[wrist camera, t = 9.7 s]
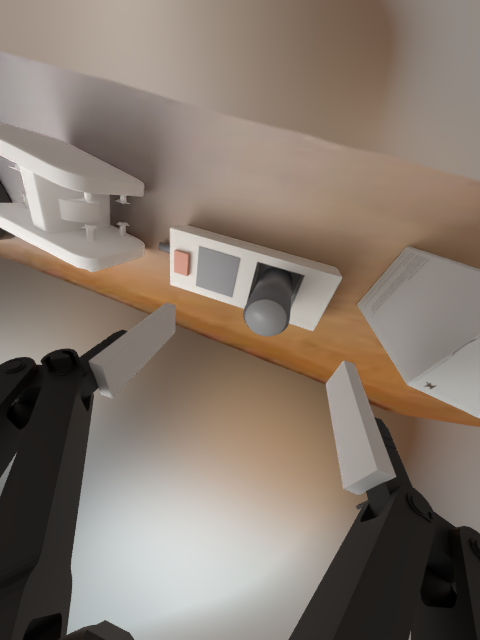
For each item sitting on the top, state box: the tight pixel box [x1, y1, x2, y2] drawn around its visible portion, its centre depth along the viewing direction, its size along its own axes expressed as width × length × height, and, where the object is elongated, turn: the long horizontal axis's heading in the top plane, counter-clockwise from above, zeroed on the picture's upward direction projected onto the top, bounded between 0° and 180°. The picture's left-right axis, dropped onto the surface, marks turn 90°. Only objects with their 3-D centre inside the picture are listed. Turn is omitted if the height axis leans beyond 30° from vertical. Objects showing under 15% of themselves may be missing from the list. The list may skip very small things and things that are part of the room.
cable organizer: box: [0, 122, 145, 272], centre depth 24 cm, size 15×11×12 cm
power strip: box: [158, 225, 343, 331], centre depth 26 cm, size 26×8×5 cm, turn 78°
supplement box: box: [357, 246, 480, 419], centre depth 18 cm, size 9×9×15 cm
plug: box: [243, 267, 293, 336], centre depth 22 cm, size 5×5×10 cm
